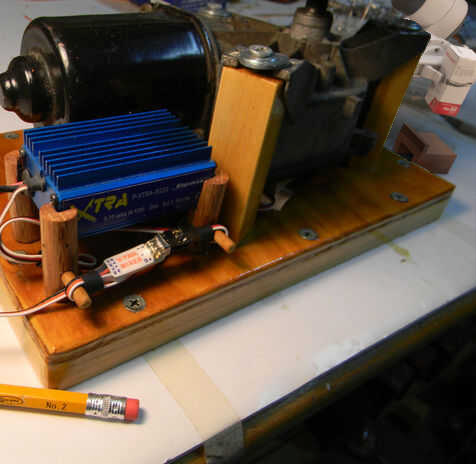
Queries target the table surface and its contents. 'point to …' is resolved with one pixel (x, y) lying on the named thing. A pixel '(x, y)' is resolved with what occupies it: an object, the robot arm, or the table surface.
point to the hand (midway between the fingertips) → (457, 80)
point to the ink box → (452, 81)
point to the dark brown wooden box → (425, 149)
